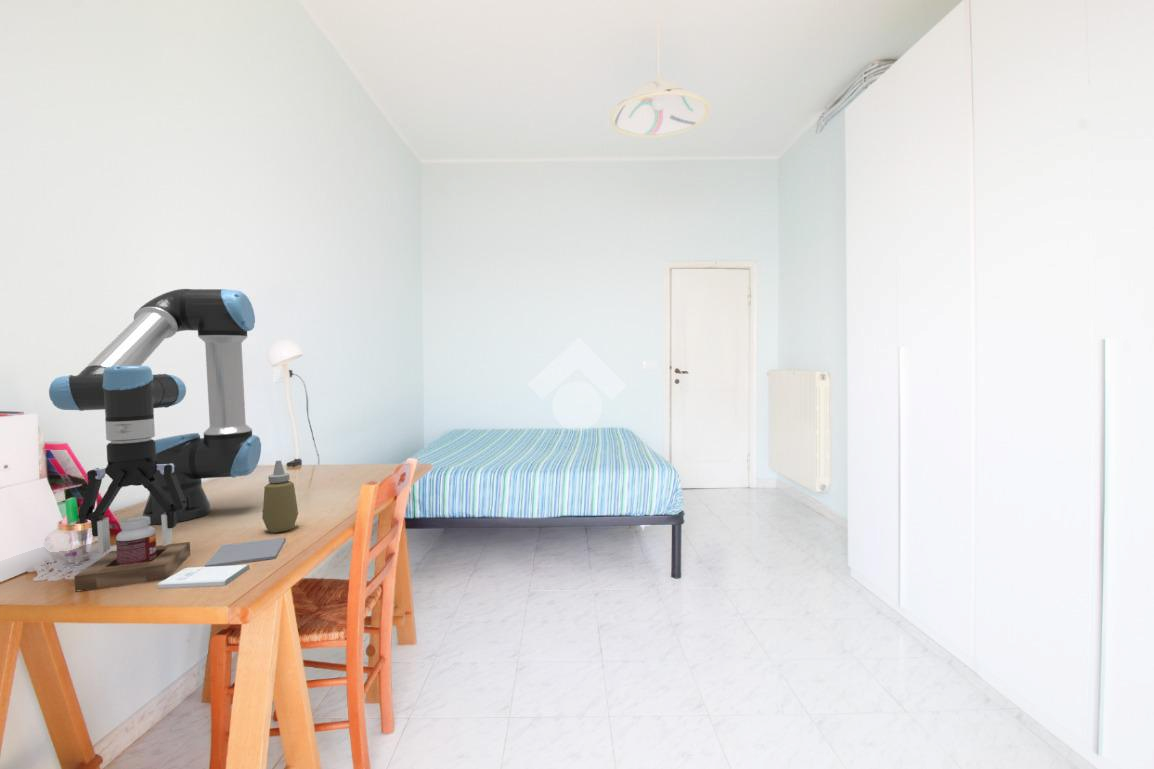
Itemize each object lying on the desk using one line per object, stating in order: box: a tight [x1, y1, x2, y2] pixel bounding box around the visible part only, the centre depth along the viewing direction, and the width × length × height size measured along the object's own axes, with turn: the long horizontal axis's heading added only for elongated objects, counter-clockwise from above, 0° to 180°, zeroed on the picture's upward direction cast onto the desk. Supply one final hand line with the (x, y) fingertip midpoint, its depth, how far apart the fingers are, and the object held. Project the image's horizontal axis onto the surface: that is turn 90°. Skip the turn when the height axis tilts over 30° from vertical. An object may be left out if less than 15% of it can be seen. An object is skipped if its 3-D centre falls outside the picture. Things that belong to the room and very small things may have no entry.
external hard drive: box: [156, 564, 250, 589], centre depth 101 cm, size 2×8×12 cm
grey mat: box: [203, 536, 287, 567], centre depth 114 cm, size 13×13×1 cm
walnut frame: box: [73, 541, 191, 592], centre depth 104 cm, size 14×14×3 cm
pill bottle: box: [115, 515, 157, 566], centre depth 104 cm, size 6×6×11 cm
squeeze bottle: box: [261, 460, 299, 533], centre depth 130 cm, size 8×8×18 cm
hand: (136, 547), depth 104 cm, fingers open, 10 cm apart
